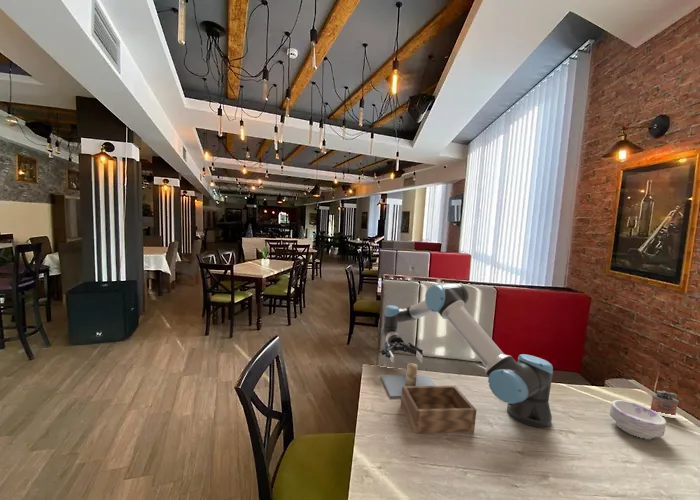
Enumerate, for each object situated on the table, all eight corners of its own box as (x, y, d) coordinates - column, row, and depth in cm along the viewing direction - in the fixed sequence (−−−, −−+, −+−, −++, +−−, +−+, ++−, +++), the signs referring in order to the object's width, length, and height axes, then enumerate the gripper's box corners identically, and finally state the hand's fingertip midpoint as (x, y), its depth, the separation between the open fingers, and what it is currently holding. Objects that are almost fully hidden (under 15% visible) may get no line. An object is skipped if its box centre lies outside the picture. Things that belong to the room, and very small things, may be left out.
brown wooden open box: (453, 404, 127) (455, 385, 126) (474, 431, 111) (476, 410, 110) (400, 405, 123) (402, 386, 123) (414, 433, 108) (416, 411, 107)
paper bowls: (660, 431, 118) (664, 411, 117) (665, 452, 107) (669, 430, 106) (608, 412, 128) (611, 394, 127) (607, 430, 116) (610, 410, 116)
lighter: (651, 414, 129) (655, 391, 128) (647, 409, 132) (651, 387, 131) (677, 420, 126) (681, 396, 125) (672, 415, 129) (676, 392, 128)
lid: (427, 377, 148) (430, 356, 147) (443, 398, 131) (445, 374, 130) (380, 378, 145) (382, 356, 144) (390, 399, 128) (392, 375, 127)
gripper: (416, 348, 165) (432, 367, 144) (370, 347, 162) (380, 367, 141) (418, 334, 165) (434, 351, 144) (371, 333, 161) (381, 351, 140)
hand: (407, 359), depth 142 cm, fingers open, 13 cm apart
